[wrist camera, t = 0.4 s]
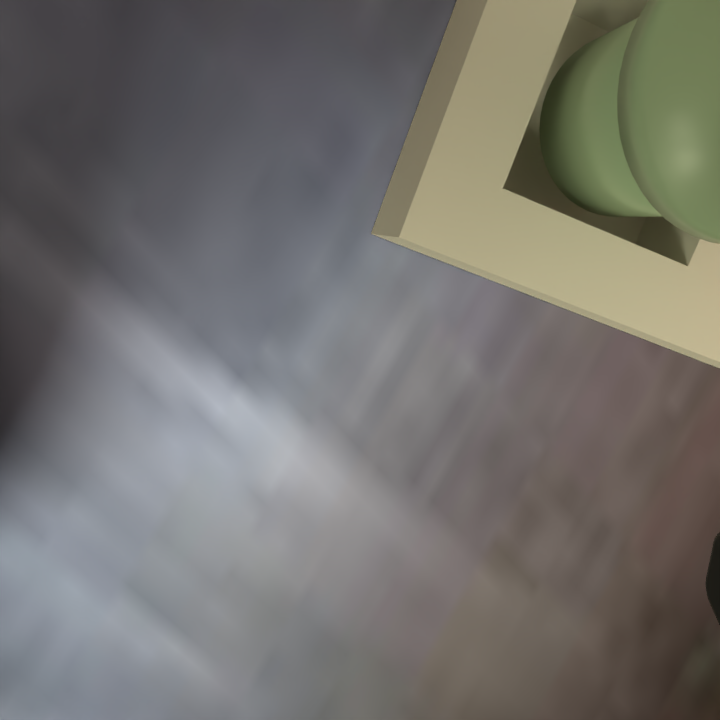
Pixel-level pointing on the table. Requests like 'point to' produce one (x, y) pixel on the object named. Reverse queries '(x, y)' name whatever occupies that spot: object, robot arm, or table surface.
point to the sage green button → (642, 119)
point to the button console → (538, 183)
